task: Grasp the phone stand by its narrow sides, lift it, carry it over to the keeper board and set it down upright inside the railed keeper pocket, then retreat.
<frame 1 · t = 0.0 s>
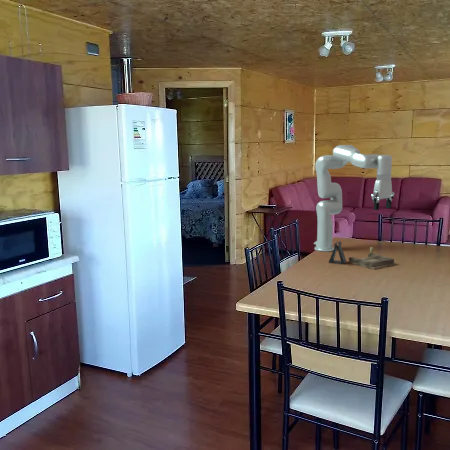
hand: (382, 209, 260), 31 cm above the table, tool pointing down, fingers open, 9 cm apart
keeper board: (372, 263, 266), on the table
phone stand: (337, 262, 270), on the table
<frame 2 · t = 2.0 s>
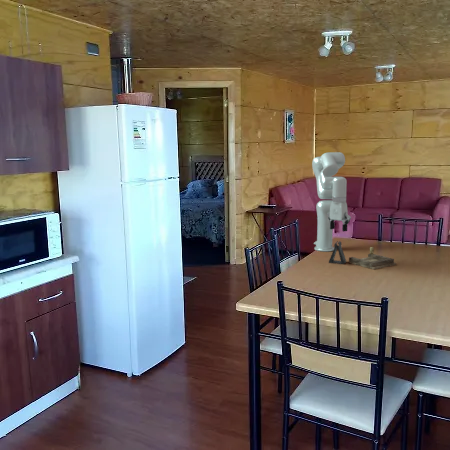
hand: (338, 230, 267), 19 cm above the table, tool pointing down, fingers open, 9 cm apart
nothing on the table moved.
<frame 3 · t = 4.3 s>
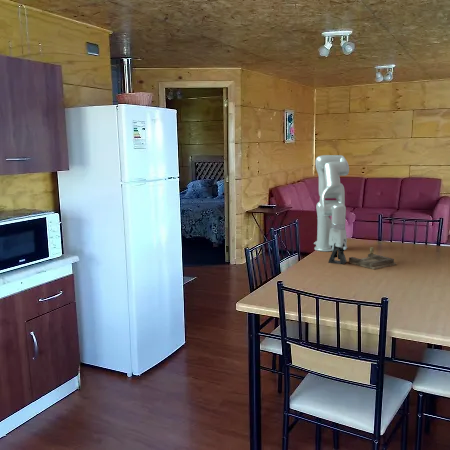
hand: (337, 257, 270), 3 cm above the table, tool pointing down, fingers closed on phone stand, 3 cm apart
phone stand: (337, 262, 270), on the table, touching gripper
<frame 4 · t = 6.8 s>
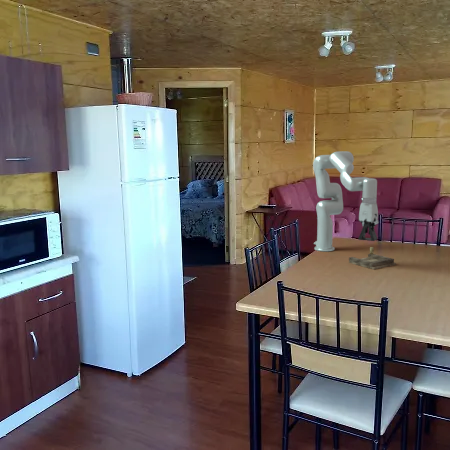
hand: (368, 233, 264), 17 cm above the table, tool pointing down, fingers closed on phone stand, 3 cm apart
phone stand: (367, 239, 264), point 14 cm above the table, touching gripper
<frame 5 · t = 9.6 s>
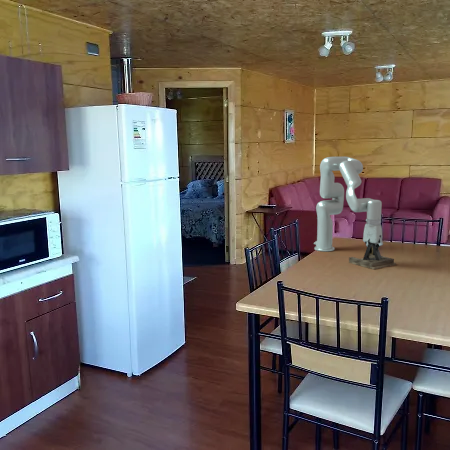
hand: (372, 254, 266), 6 cm above the table, tool pointing down, fingers closed on phone stand, 3 cm apart
phone stand: (372, 259, 265), point 2 cm above the table, touching gripper, keeper board
when the fingers open (6 cm above the table, at t = 9.7 s): phone stand drops 2 cm, resting on keeper board.
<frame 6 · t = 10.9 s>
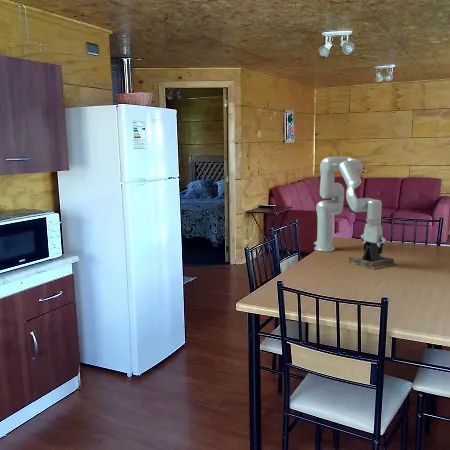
hand: (372, 252, 265), 7 cm above the table, tool pointing down, fingers open, 9 cm apart
phone stand: (371, 261, 267), point 1 cm above the table, touching keeper board
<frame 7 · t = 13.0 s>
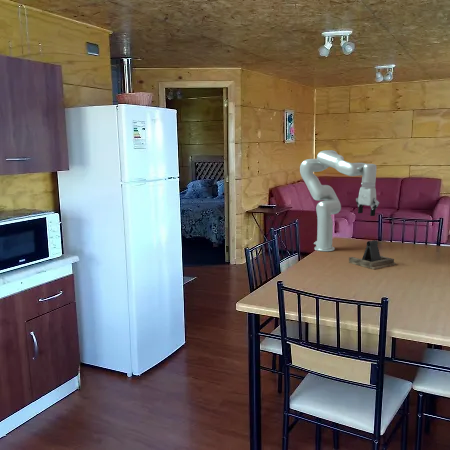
hand: (366, 214, 276), 26 cm above the table, tool pointing down, fingers open, 9 cm apart
nothing on the table moved.
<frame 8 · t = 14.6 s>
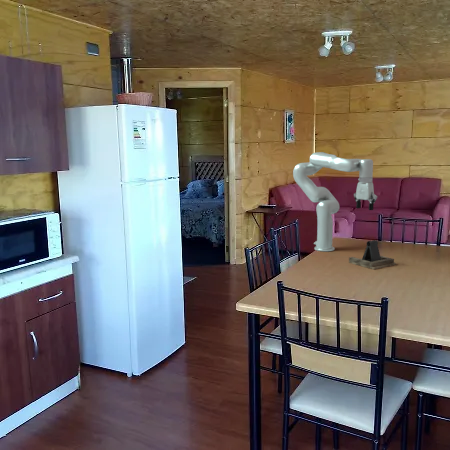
hand: (364, 209, 282), 28 cm above the table, tool pointing down, fingers open, 9 cm apart
nothing on the table moved.
at the end: phone stand 1.0 cm off-centre on the keeper board, point 0.8 cm above the keeper board's base; phone stand tilted 0°; the gripper is holding nothing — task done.
